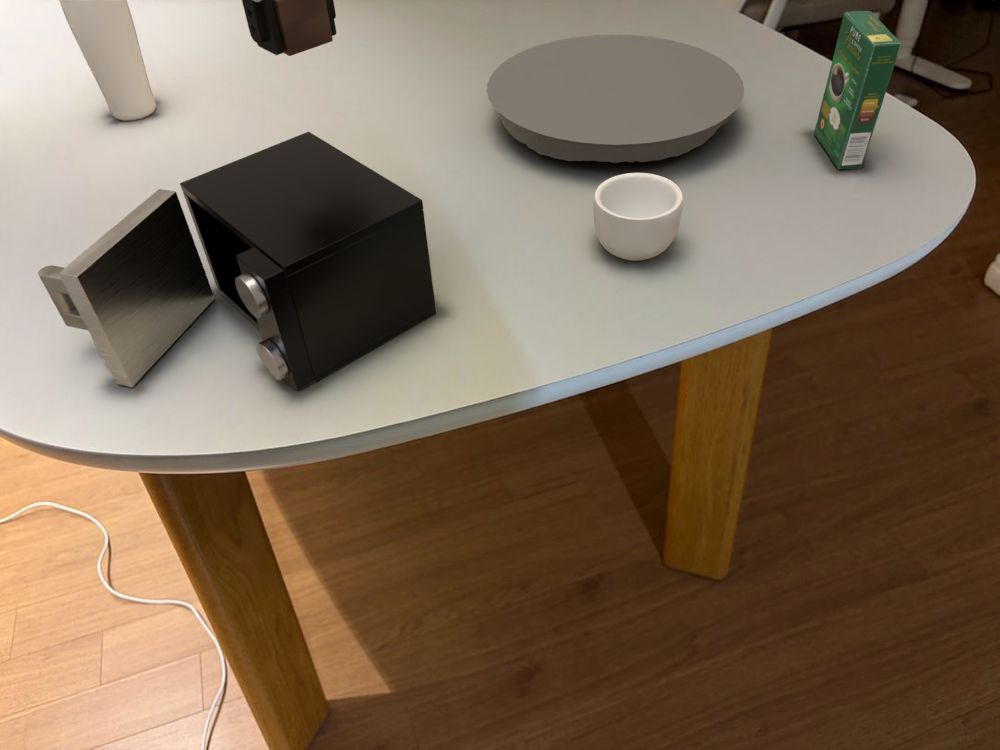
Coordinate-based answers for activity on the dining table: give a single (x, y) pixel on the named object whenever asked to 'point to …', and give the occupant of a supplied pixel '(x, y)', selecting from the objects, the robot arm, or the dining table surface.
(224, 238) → the microwave
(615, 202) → the teacup
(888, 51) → the coffee box
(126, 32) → the white tapered cylinder
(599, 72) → the flat disc
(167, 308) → the microwave door
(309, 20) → the block
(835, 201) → the dining table surface
